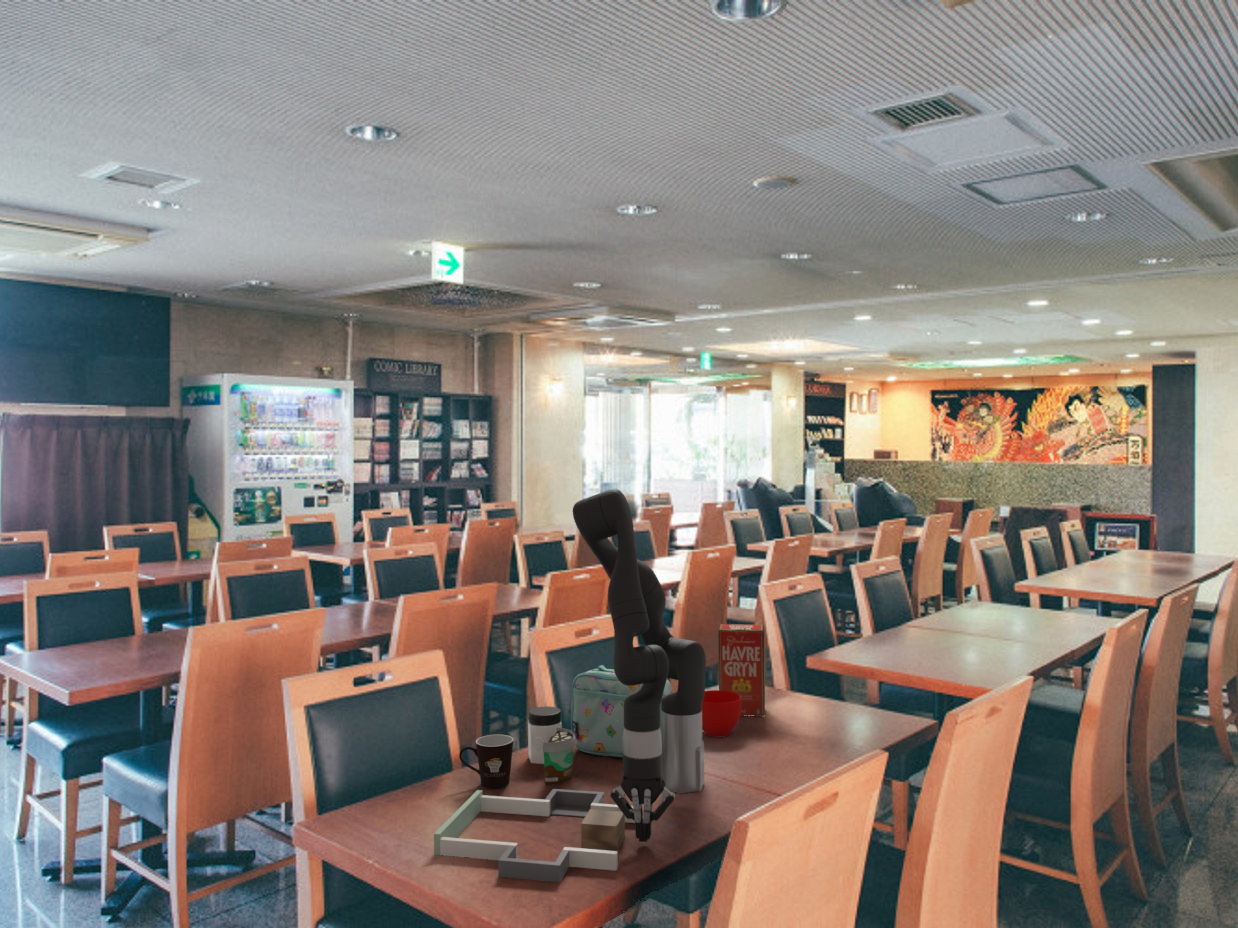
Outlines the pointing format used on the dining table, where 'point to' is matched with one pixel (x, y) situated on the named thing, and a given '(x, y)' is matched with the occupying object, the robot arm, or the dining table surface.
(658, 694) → the robot arm
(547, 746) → the food container
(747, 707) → the food packaging
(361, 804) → the dining table surface
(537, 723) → the jar
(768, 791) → the dining table surface
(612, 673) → the lunch box
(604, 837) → the walnut block
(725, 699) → the ceramic cup
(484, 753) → the coffee mug
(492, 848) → the track
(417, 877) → the dining table surface
